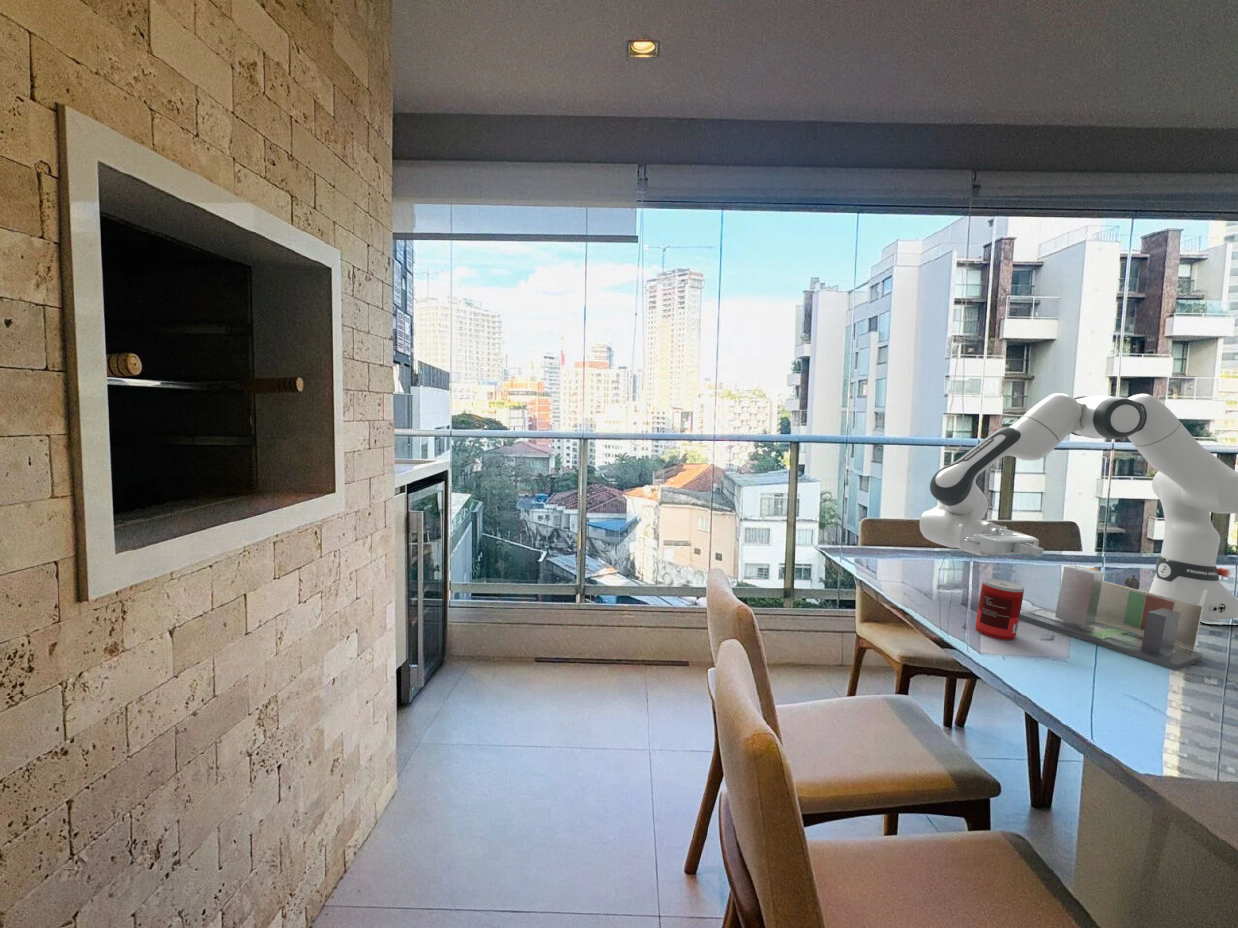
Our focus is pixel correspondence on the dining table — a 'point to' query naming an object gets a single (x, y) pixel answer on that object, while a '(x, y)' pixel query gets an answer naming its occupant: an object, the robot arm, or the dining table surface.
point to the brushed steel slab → (1079, 595)
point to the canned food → (999, 608)
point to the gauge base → (1135, 625)
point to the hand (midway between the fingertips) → (1040, 552)
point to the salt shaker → (1132, 583)
